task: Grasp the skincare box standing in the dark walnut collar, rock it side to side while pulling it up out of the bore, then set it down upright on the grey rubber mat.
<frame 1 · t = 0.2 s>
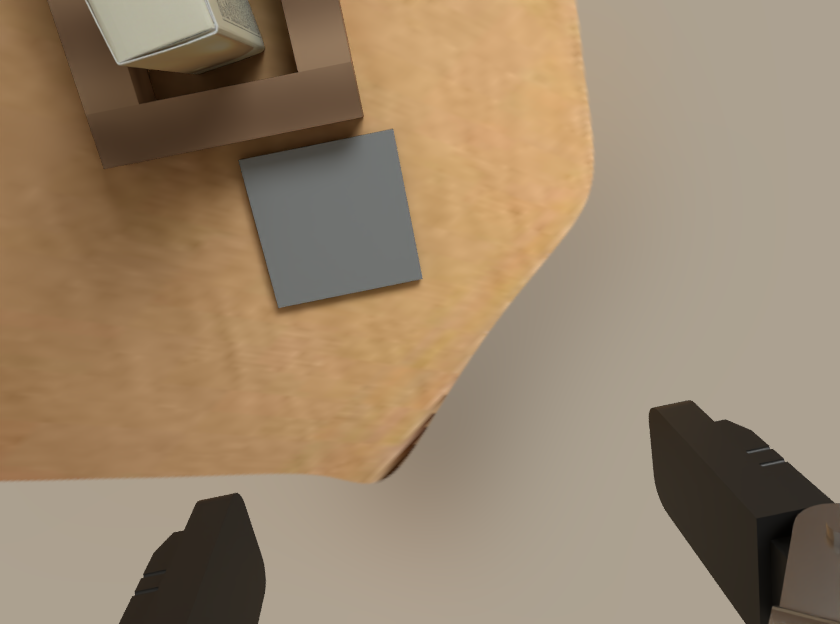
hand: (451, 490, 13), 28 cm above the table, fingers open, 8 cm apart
collar: (209, 9, 35), on the table
skincare box: (210, 10, 35), resting in collar
mat: (334, 220, 39), on the table
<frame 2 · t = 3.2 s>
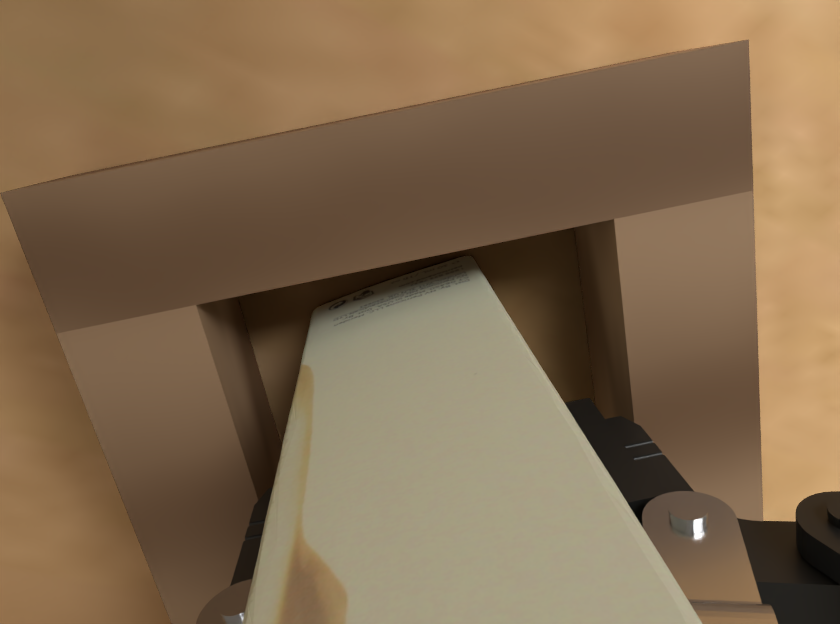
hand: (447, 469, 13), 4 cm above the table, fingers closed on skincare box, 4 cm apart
collar: (431, 388, 17), on the table
skincare box: (430, 385, 17), resting in collar, touching gripper
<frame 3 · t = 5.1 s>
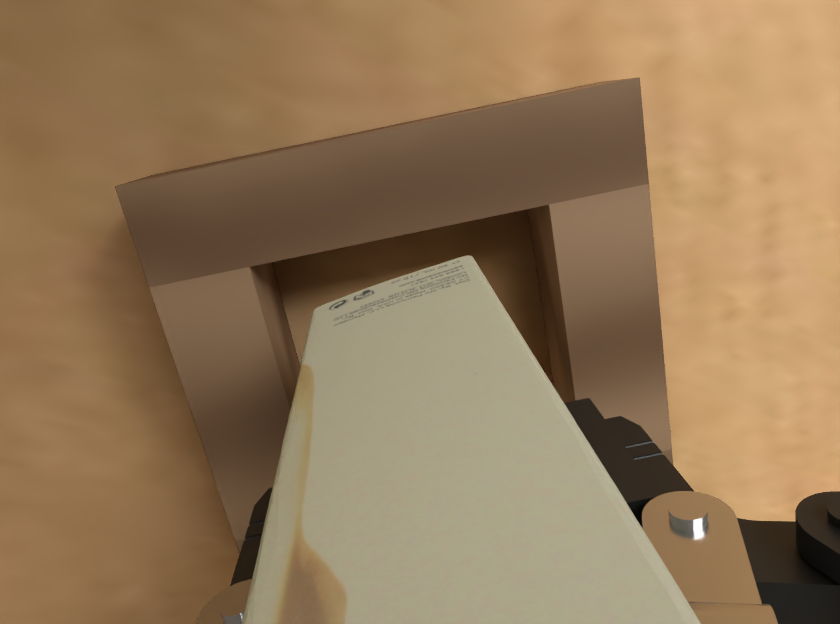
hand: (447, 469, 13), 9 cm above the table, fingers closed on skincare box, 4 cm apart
collar: (421, 339, 22), on the table
skincare box: (431, 385, 17), point 5 cm above the table, touching gripper
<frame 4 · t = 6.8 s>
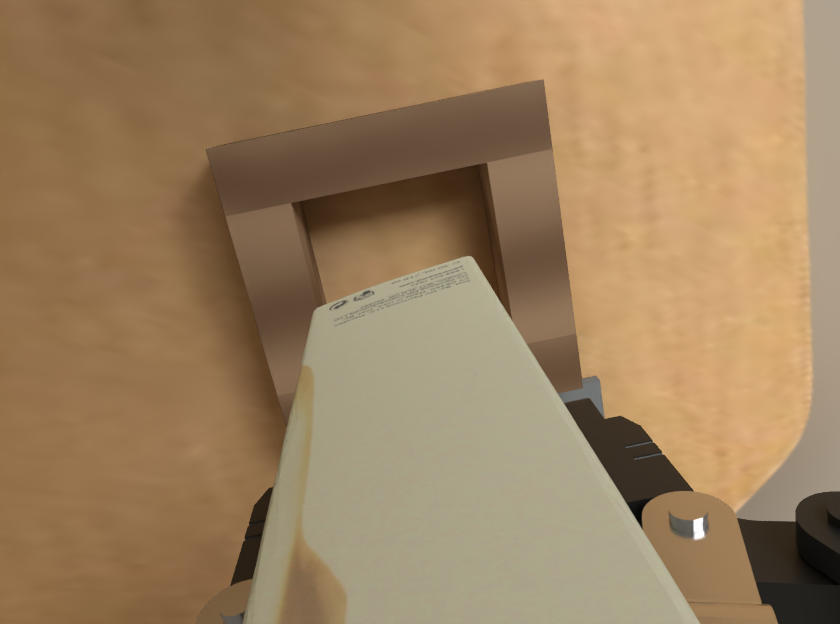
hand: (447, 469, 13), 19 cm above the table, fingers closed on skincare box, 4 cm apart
collar: (405, 262, 31), on the table
skincare box: (431, 386, 17), point 15 cm above the table, touching gripper
mat: (523, 467, 35), on the table
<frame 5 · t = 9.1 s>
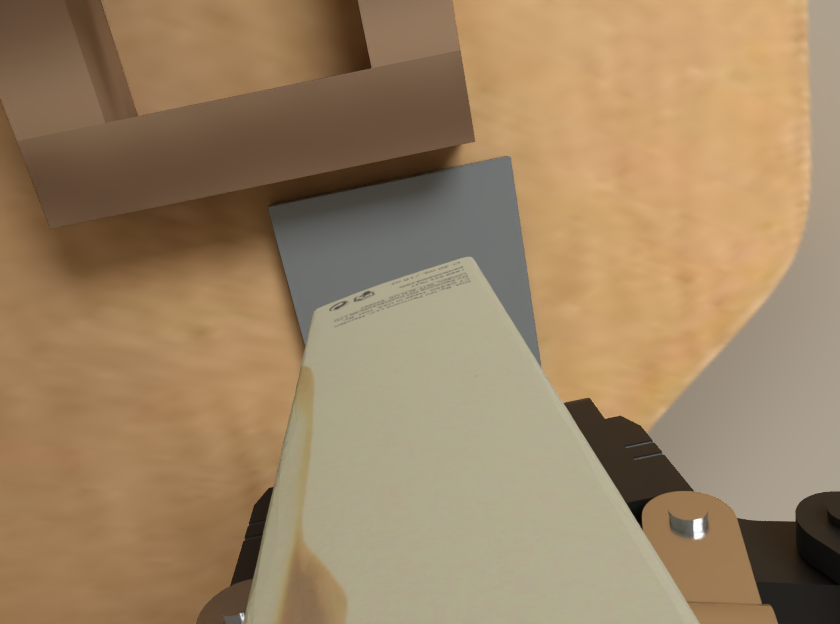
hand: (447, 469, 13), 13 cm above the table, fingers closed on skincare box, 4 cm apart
skincare box: (431, 386, 17), point 9 cm above the table, touching gripper
mat: (412, 293, 26), on the table
when the fingers open (5 cm above the table, at t = 10.8 s): skincare box stays where it is, resting on mat.
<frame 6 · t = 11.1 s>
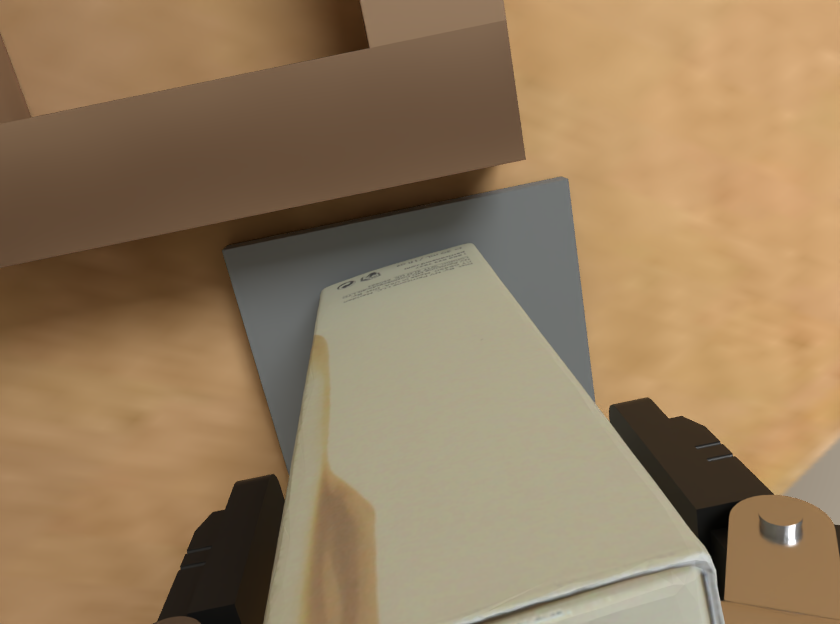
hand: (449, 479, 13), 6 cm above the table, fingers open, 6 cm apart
skincare box: (429, 367, 18), resting on mat
mat: (426, 365, 19), on the table
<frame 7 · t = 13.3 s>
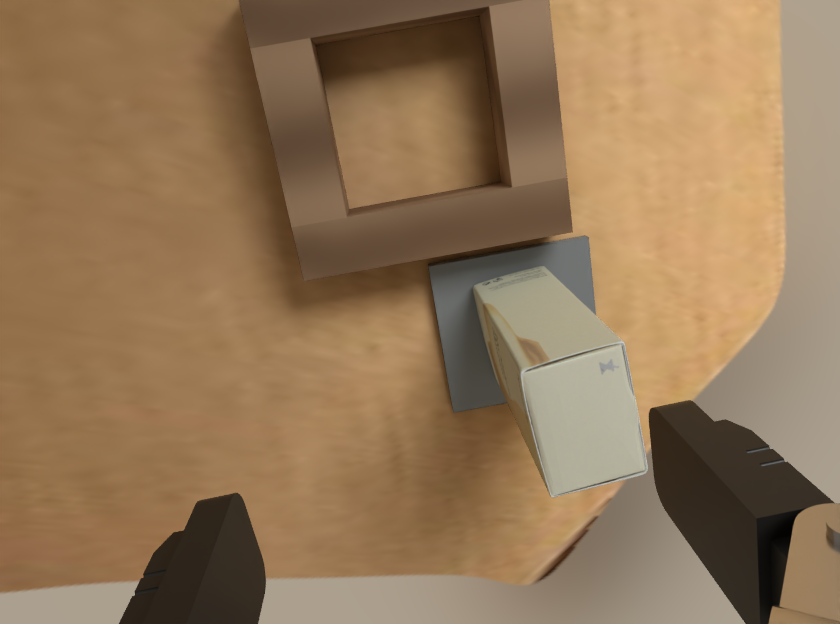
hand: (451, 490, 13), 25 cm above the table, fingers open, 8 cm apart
collar: (412, 115, 34), on the table
skincare box: (519, 324, 37), resting on mat
mat: (516, 324, 38), on the table
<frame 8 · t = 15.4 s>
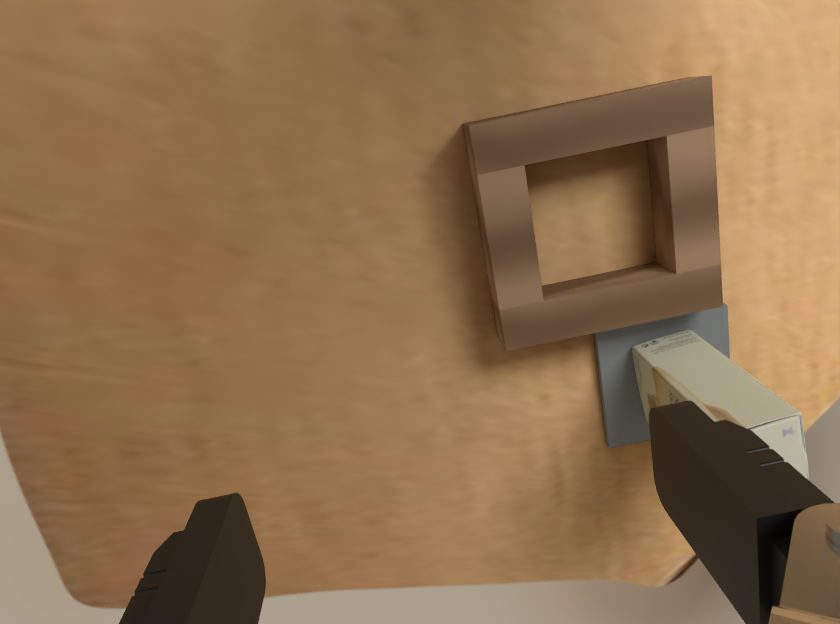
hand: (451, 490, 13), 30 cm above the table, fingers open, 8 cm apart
collar: (587, 213, 42), on the table
skincare box: (666, 376, 45), resting on mat
mat: (663, 375, 46), on the table
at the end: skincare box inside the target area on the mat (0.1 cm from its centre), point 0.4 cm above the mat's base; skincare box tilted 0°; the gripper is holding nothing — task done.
